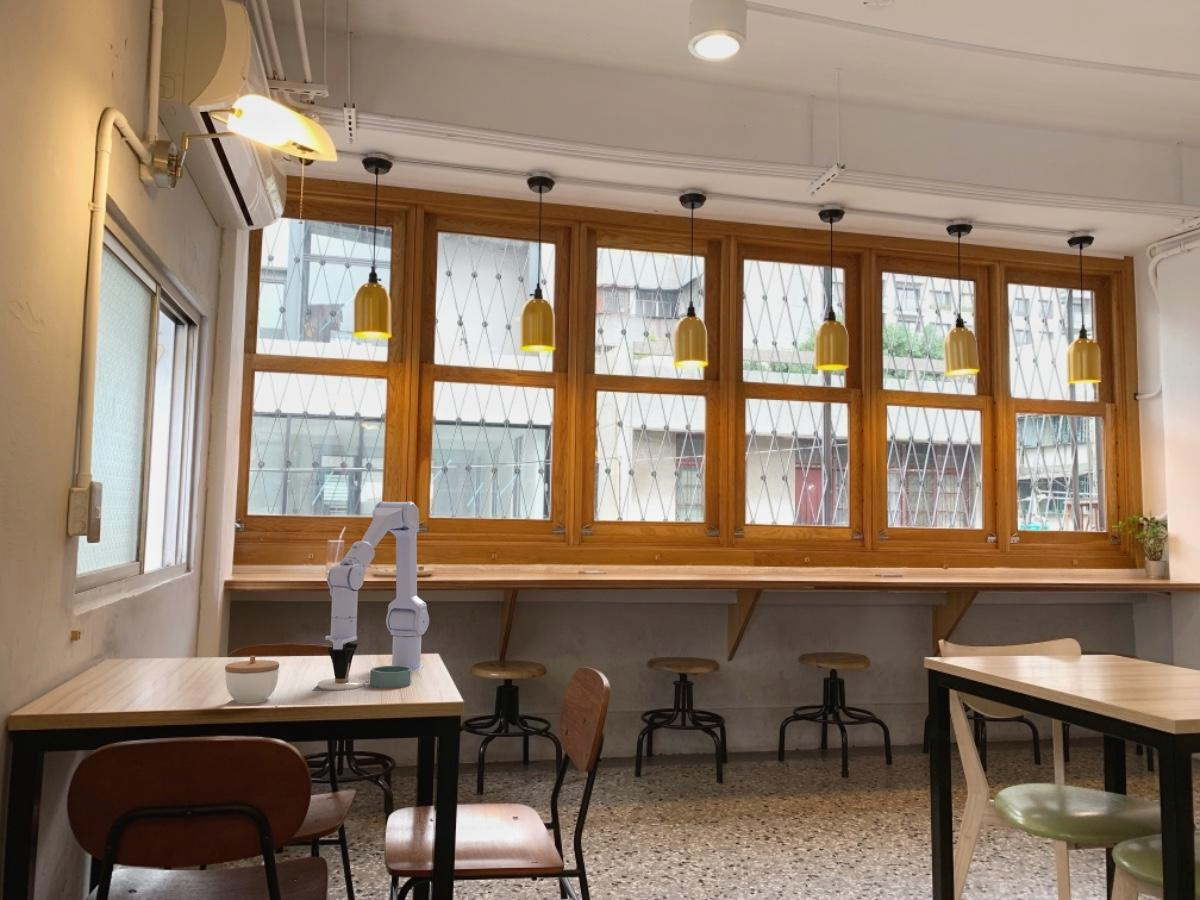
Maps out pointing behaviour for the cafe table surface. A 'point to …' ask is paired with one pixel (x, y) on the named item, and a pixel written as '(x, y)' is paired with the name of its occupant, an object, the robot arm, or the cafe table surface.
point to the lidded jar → (251, 680)
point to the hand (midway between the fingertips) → (341, 676)
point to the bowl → (390, 676)
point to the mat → (327, 690)
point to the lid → (341, 683)
